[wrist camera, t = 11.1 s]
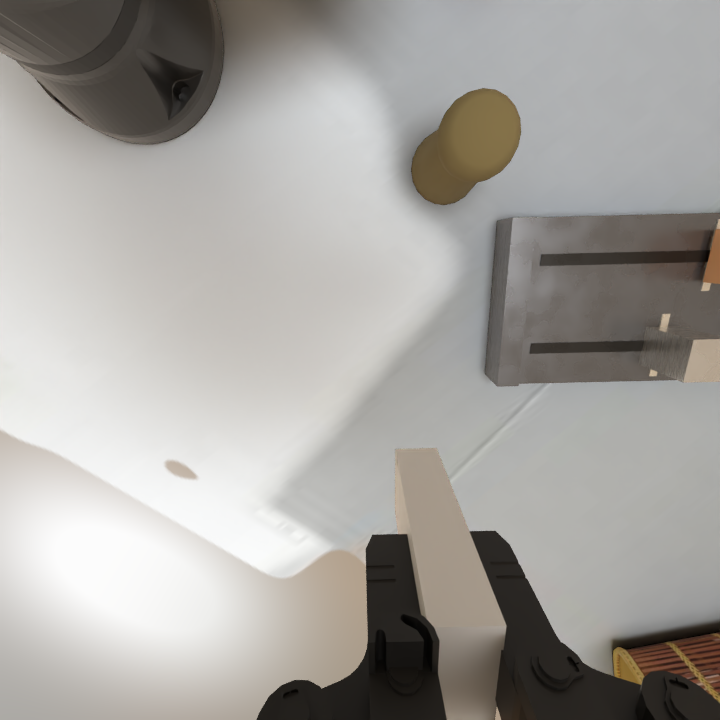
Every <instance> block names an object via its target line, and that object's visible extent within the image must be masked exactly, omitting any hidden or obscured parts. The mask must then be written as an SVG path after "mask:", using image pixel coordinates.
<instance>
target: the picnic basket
mask: <svg viewBox="0 0 720 720" xmlns="http://www.w3.org/2000/svg"><path fill="white" fill-rule="evenodd" d="M613 662H614V674H615V677H617V678H621V679H624V680H627V681H630V682H634V683H637V684H640V685H641V684H642V680H643V678H644V677H645V676H646V675H648V674H649V673H650V672H651V671H668V672H671V673H674V674H678V675H681V676H683V677H685V678H687V679H688V680H690V681H692V682H694V683H695V684H697V685H699V686H700V687H702V688H703V689H704V690H705V691H706V692H708V693H709V694H710V695H711V696H712V697H714V698H715V699H716V700H717V701H718V702H719V703H720V632H719V633H714V634H708V635H703V636H698V637H692V638H687V639H681V640H676V641H671V642H665V643H660V644H655V645H649V646H644V647H639V648H633V649H628V650H625V649H623V648H621V647H617V648H616V649H615V650H613Z"/></svg>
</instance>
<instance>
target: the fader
mask: <svg viewBox="0 0 720 720" xmlns="http://www.w3.org/2000/svg"><path fill="white" fill-rule="evenodd" d="M703 282H705V283H715V284H720V229H716V230H715V235H714V239H713V243H712V247H711V251H710V255H709V259H708V263H707V267H706V271H705V276H704V280H703Z"/></svg>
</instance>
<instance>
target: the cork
mask: <svg viewBox="0 0 720 720" xmlns="http://www.w3.org/2000/svg"><path fill="white" fill-rule="evenodd" d="M520 135H521V124H520V117H519V114H518V112H517V109H516V107H515V105H514V104H513V103H512V101H511V100H510V99H509V98H508V97H507V96H506V95H504V94H502V93H501V92H499V91H497V90H493V89H485V88H482V89H478V90H474V91H470V92H468V93H466V94H465V95H463V96H462V97H460V98H458V99H457V100H456V101H455V102H454V103H453V104H452V105H451V107H450V108H449V109H448V110H447V111H446V113H445V115H444V117H443V119H442V121H441V124H440V126H439V129H438V130H437V131H435V132H434V133H432V134H431V135H429V136H428V137H427V138H425V139H424V140H423V142H422V143H421V144H420V145H419V146H418V148H417V150H416V152H415V155H414V157H413V161H412V168H411V172H412V178H413V183H414V185H415V187H416V189H417V191H418V192H419V193H420V194H421V195H422V196H423V197H424V198H425V199H426V200H428V201H430V202H432V203H434V204H441V205H447V204H451V203H455V202H457V201H458V200H460V199H462V198H463V197H465V196H466V195H467V193H468V192H469V191H470V190H471V189H472V188H473V187H474V185H475V184H476V183H477V182H480V181H485V180H488V179H490V178H491V177H493V176H495V175H496V174H498V173H500V172H501V171H502V170H503V169H504V168H505V167H506V166H507V164H508V163H509V162H510V161H511V159H512V157H513V155H514V153H515V151H516V149H517V147H518V145H519V140H520Z"/></svg>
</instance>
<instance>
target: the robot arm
mask: <svg viewBox="0 0 720 720" xmlns="http://www.w3.org/2000/svg"><path fill="white" fill-rule="evenodd" d="M0 52H1V53H3V54H5V55H7V56H9V57H10V58H12V59H14V60H16V61H17V62H18V63H19V64H20V65H21V66H22V67H23V68H24V69H25V70H26V71H28V72H29V73H31V74H32V75H33V76H34V77H35V79H36V80H37V81H38V83H39V84H40V85H41V86H42V88H43V89H44V90H45V91H46V92H47V93H48V94H49V95H50V96H51V98H52V99H53V100H54V101H55V102H56V103H57V104H59V105H60V106H61V107H62V108H63V109H64V110H65V111H67V112H68V113H69V114H71V115H72V116H73V117H75V118H76V119H78V120H79V121H81V122H82V123H84V124H86V125H87V126H89V127H91V128H93V129H95V130H98V131H100V132H102V133H104V134H106V135H109V136H111V137H113V138H116V139H119V140H122V141H126V142H130V143H138V144H154V143H160V142H164V141H168V140H170V139H173V138H175V137H178V136H179V135H181V134H183V133H185V132H186V131H187V130H189V129H190V128H191V127H193V126H194V125H195V124H196V123H197V122H198V121H199V120H200V119H201V117H202V116H203V115H204V114H205V112H206V111H207V109H208V108H209V106H210V104H211V102H212V100H213V98H214V96H215V94H216V91H217V88H218V85H219V82H220V78H221V73H222V66H223V35H222V28H221V23H220V18H219V14H218V11H217V7H216V4H215V2H214V0H0ZM395 515H396V522H397V529H398V534H386V535H372V537H371V539H370V541H369V543H368V546H367V548H366V574H367V575H366V580H367V621H368V644H367V650H366V653H365V656H364V659H363V660H362V662H361V663H360V665H359V667H358V668H357V669H356V670H355V671H354V672H353V673H352V674H351V675H349V676H348V677H346V678H344V679H343V680H341V681H339V682H337V683H334V684H332V685H329V686H327V687H325V688H322V689H321V688H320V686H318V685H316V684H314V683H312V682H310V681H308V680H294V681H291V682H289V683H286V684H284V685H282V686H280V687H279V688H278V689H277V690H276V691H275V692H274V693H273V694H271V695H270V696H269V697H268V699H267V701H266V702H265V704H264V706H263V708H262V709H261V711H260V713H259V715H258V718H257V720H495V714H496V707H498V710H499V713H500V716H501V720H720V703H719V702H718V701H717V700H716V699H715V698H714V697H712V696H711V695H710V694H709V693H708V692H706V691H705V690H704V689H703V688H702V687H700V686H699V685H697V684H695V683H694V682H692V681H690V680H688V679H687V678H685V677H683V676H681V675H678V674H674V673H671V672H668V671H651V672H650V673H649V674H648V675H646V676H645V677H644V678H643V680H642V684H641V685H640V684H637V683H634V682H630V681H627V680H624V679H621V678H617V677H614V676H611V675H608V674H605V673H602V672H600V671H597V670H595V669H592V668H591V667H589V666H587V665H586V664H584V663H583V662H582V661H581V659H580V658H579V657H578V655H577V654H575V653H574V652H573V651H572V650H571V649H570V648H568V647H567V646H566V645H565V644H563V643H561V642H560V640H559V639H558V637H557V636H556V634H555V632H554V630H553V628H552V627H551V625H550V623H549V621H548V619H547V617H546V615H545V613H544V611H543V609H542V607H541V605H540V603H539V601H538V599H537V597H536V595H535V593H534V591H533V589H532V588H531V586H530V584H529V582H528V580H527V579H526V578H525V574H524V572H523V570H522V568H521V566H520V564H518V560H517V558H516V556H515V554H514V552H513V550H512V548H511V547H510V545H509V544H508V543H507V542H506V541H505V540H504V539H503V538H502V537H501V536H500V535H499V534H498V533H497V532H496V531H469V529H468V527H467V524H466V522H465V519H464V517H463V514H462V512H461V509H460V506H459V504H458V501H457V499H456V496H455V494H454V491H453V489H452V486H451V484H450V481H449V479H448V476H447V473H446V471H445V468H444V466H443V463H442V461H441V458H440V456H439V453H438V451H437V448H420V449H395Z"/></svg>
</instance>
